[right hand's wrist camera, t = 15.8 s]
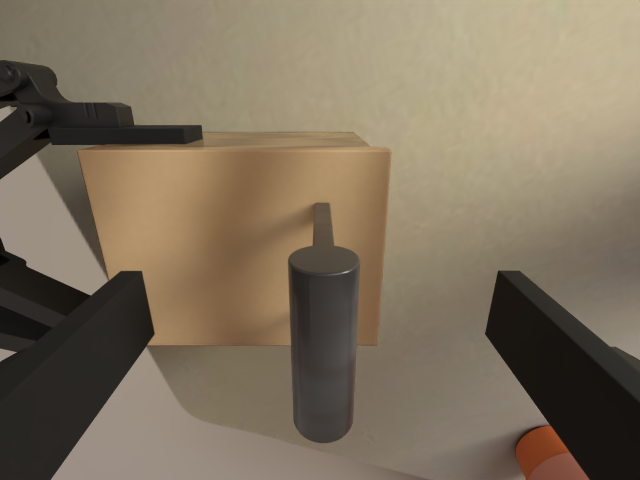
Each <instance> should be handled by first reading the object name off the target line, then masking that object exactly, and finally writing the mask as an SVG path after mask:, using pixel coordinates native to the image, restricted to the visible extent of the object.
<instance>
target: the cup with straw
mask: <svg viewBox="0 0 640 480" xmlns="http://www.w3.org/2000/svg"><path fill="white" fill-rule="evenodd" d="M516 458H517V460H518V463H519V465H520V467H521V470H522V472H523V474H524V476H525V479H526V480H589V478H588V477H587V476H586V474H585V473H584V471H583V470H582V469H581V467H580V466H579V464H578V463H577V462H576V460H575V459H574V457H573V456H572V455H571V453H570V452H569V450H568V449H567V448H566V446H565V445H564V444H563V442H562V441H561V439H560V438H559V437H558V435H557V434H556V432H555V431H554V430H553V428H552V427H551V426H544V427H540V428H537V429H534V430H532V431H530V432H529V433H527V434H526V435H525V436H524V437H522V439H521V440H520V441H519V442H518V444H517V447H516Z"/></svg>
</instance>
